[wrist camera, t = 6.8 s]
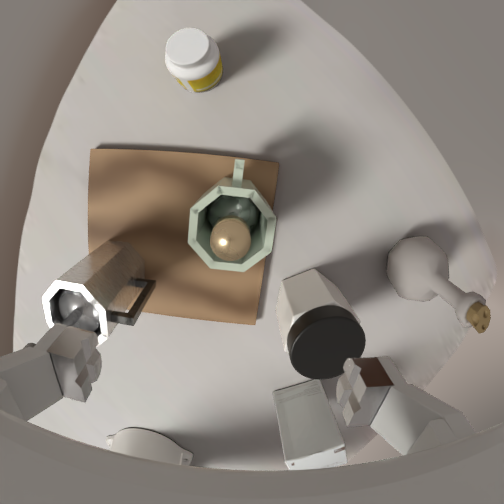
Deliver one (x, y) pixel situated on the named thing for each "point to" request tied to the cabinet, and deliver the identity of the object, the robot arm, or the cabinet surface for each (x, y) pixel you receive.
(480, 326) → the potion bottle
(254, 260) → the pale green octagonal mug
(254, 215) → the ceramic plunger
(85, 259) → the steel press
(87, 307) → the steel plunger
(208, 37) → the supplement bottle
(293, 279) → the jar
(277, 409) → the skincare box
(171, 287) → the serving board
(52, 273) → the cabinet surface
